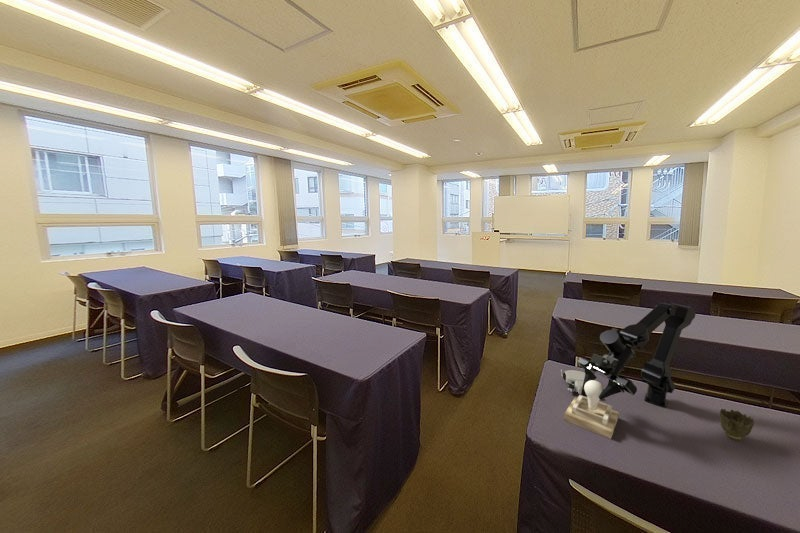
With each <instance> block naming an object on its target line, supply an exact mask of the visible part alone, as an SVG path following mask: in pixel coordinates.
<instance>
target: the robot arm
mask: <svg viewBox="0 0 800 533" xmlns="http://www.w3.org/2000/svg"><path fill="white" fill-rule="evenodd" d="M695 317H696V311H694V309H693V307H691V306H687V305H682V304H677V303H665V302H658V303H656V304H655V307H654V308H653V309H652V310H651V311H649V312H648V313H647V314H646V315H645V316H643V317H642V318H641V319H640V320H639V321H638V322H637V323H633V324H629V325H627V326H626V327H624V328H622V329H621V330H619V329H618V328H615V327H612V328H611V329H609V330H605V331H603V332H601V333H600V335H599V340H600V341H601V343H602V344H603V345H604V346H605V348H606V349H607V350H608V351H609V353H608V354H603V355H602V356H601V355H599V354H596V353H593V354H592V356H591V359H588V358H586V357H579V358H578V360H577V361H576V362H577V364H579V365H580V367H581V368H582V369H583V370H584V373H585V378H584V382H583V386H582V388H583V389H584V385H585V383H586V382H587V381H590V380H595V381H596V379H598V378H597V376H596V375H595V374H596V373H597V374H598V375H600V376H601V377H605V378H606V379H608V384H607V385H606V386H605V387H604V390H603V392H602V393H601V394H600V396H599V399H600V400H604V399H606V398H607V397H611V396H612V395H616V394H620V393H623V394H624V393H625V392H626V393H628V394H630V395H632V396H635V394H636V393H637V391H638V388H637V386H636V384H634V382H633V381H632V380H631V379H629V378H627V377H625V376H623V375H619V374H620V373H621V371H625V370H626V368H625V366H626V365H627V363H628V362H629V361H630V359H631V358H634V359H635V358H636V353H635V352H636V350H635V349H638V350H640V349H641V350H642V349H643V348H644V347H646V345H647V344H648V343H649V341H650V335H651V333H653V332H654V331H655V330H656V329H658V328H659V327H660V326H661V325H662V324H663V323H664V324H665V325H664V328H663V331H662V333H661V336H660V338H659V342H658V344H657V347H656V349H655V352H654V356H653V358H652V359H651V360H650V361H645V362H644V363H643V366H642V368H641V371H640V377H641V381H642V383H644V384H646V385H647V390H646V393H645V395H644V401H645V402H647V403H651V404H654V405H656V406H659V407H663V408H667V403H668V402H667V401H668V399H667V394H669V393H670V394H672V393H673V392H674V391H675V390H676V383H675V382H674V381H673V380H672V375H673V374H672V370H671V368H670V364H671V360H672V358H673V355H674V352H675V349H676V347H677V345H678V342H679V339H680V337H681V334H682V331H683V330H684V329H685V328H687V327H689V326H690V325H691V324H692V322H693V320H694V319H695ZM631 347H632V348H631ZM633 348H635V349H633Z"/></svg>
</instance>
